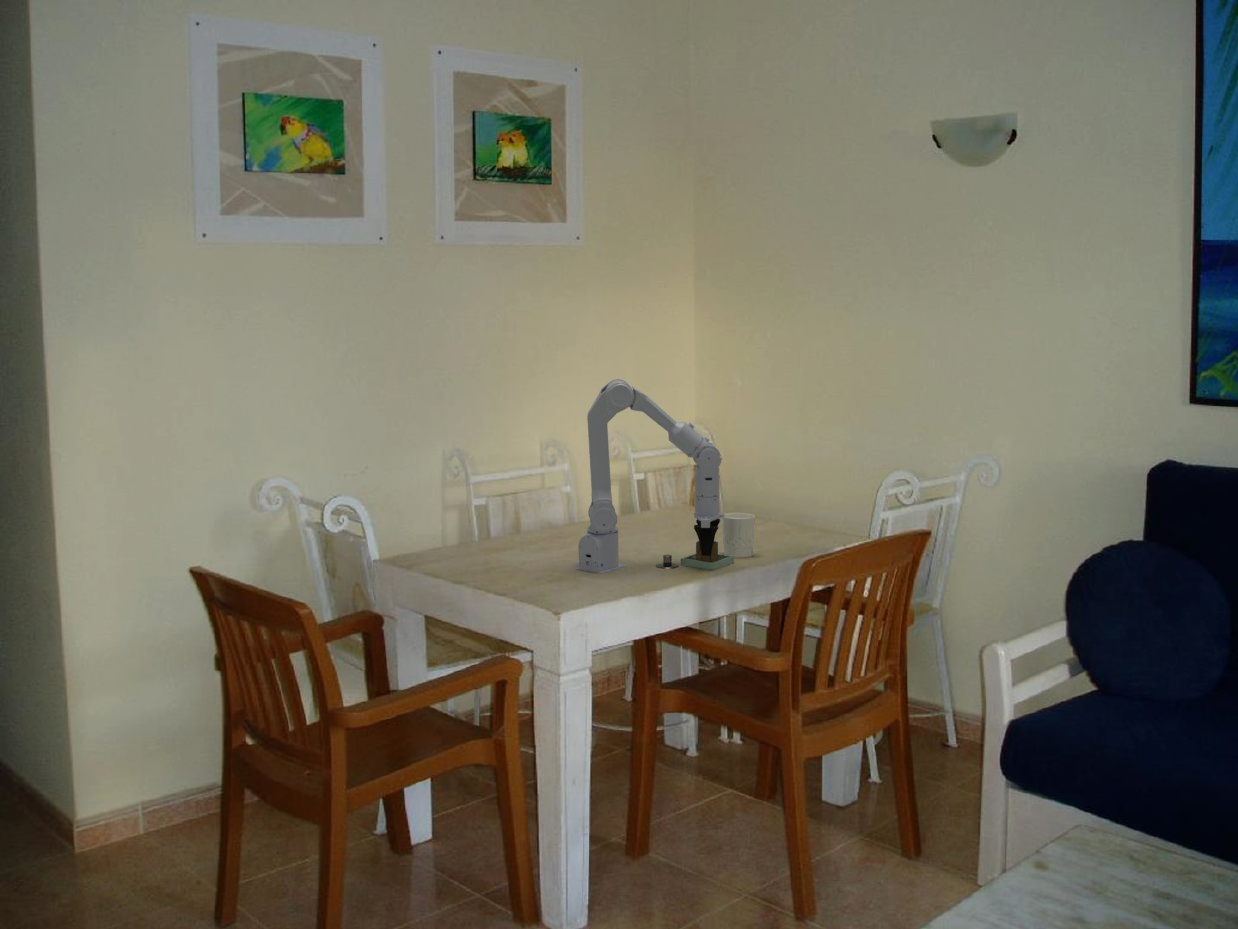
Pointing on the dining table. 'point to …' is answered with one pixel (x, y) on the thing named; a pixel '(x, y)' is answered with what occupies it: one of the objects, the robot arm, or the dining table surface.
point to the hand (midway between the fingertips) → (707, 552)
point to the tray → (722, 561)
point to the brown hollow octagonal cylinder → (706, 558)
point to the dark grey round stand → (667, 563)
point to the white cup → (738, 534)
